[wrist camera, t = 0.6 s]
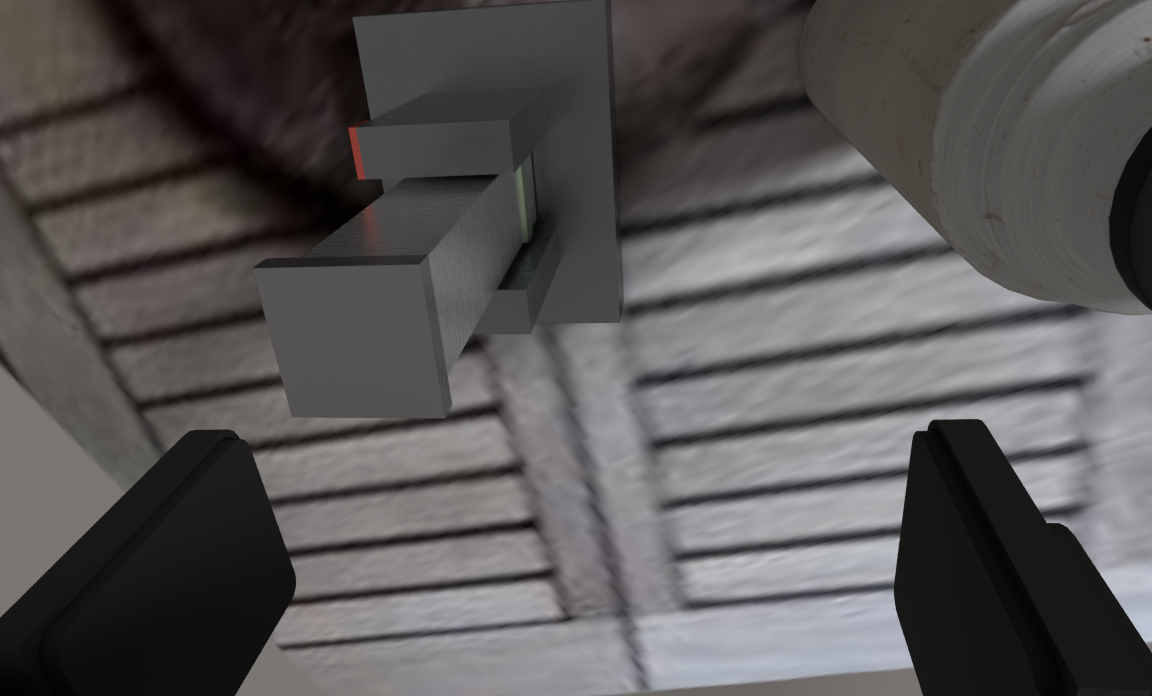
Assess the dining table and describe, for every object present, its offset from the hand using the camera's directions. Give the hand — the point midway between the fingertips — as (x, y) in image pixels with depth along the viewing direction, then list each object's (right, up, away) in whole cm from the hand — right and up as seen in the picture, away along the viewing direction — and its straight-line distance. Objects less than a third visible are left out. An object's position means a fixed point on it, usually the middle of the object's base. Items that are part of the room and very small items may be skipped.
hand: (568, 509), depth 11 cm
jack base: (-4, +12, +31) cm, 33 cm away
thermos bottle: (+15, +17, +26) cm, 34 cm away
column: (-4, +11, +28) cm, 30 cm away
